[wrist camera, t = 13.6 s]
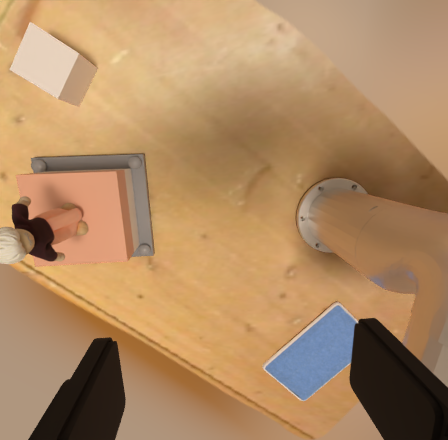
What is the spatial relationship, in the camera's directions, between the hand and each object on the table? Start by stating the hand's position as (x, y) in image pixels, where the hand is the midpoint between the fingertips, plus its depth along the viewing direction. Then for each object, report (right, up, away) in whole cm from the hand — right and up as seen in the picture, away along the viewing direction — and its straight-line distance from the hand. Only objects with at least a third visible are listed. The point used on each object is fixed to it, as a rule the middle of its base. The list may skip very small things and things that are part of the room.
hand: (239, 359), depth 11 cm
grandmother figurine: (-20, +6, +24) cm, 32 cm away
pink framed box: (-20, +7, +32) cm, 39 cm away
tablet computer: (+18, -20, +42) cm, 50 cm away
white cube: (-22, +26, +28) cm, 44 cm away
